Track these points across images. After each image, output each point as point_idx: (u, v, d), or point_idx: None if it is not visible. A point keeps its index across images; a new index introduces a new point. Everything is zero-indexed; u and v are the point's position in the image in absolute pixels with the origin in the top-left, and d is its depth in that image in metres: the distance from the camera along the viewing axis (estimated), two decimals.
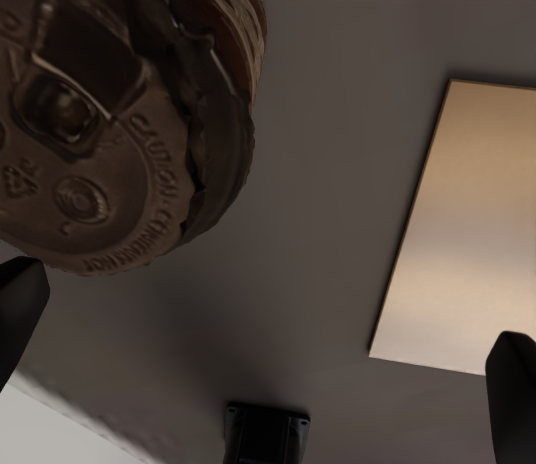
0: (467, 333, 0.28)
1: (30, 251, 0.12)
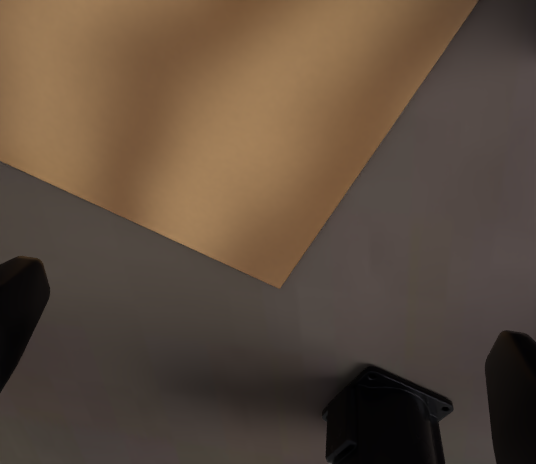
0: (263, 193, 0.23)
1: None
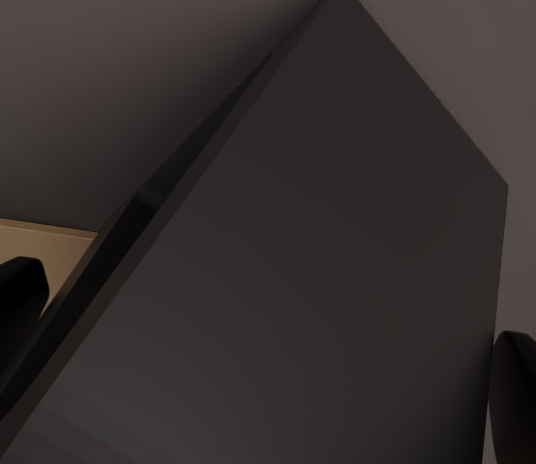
0: None
1: None
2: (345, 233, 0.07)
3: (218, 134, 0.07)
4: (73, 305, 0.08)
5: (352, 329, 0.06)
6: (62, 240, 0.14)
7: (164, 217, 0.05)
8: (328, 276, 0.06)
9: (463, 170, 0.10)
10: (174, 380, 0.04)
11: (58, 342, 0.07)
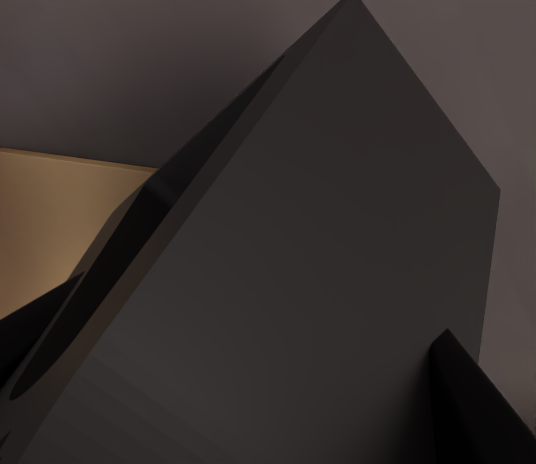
0: None
1: None
2: (351, 224, 0.07)
3: (236, 128, 0.08)
4: (92, 283, 0.08)
5: (355, 311, 0.07)
6: (119, 173, 0.17)
7: (191, 200, 0.06)
8: (335, 262, 0.07)
9: (459, 173, 0.10)
10: (201, 343, 0.05)
11: (80, 316, 0.07)
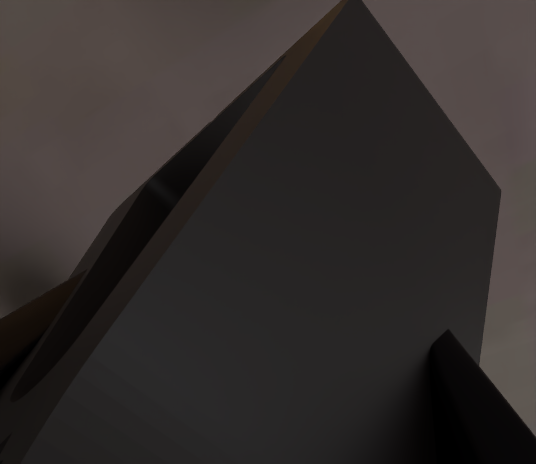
0: None
1: None
2: (352, 225, 0.07)
3: (237, 129, 0.08)
4: (92, 284, 0.08)
5: (357, 312, 0.07)
6: None
7: (192, 201, 0.06)
8: (337, 264, 0.07)
9: (460, 174, 0.10)
10: (202, 345, 0.05)
11: (80, 316, 0.07)
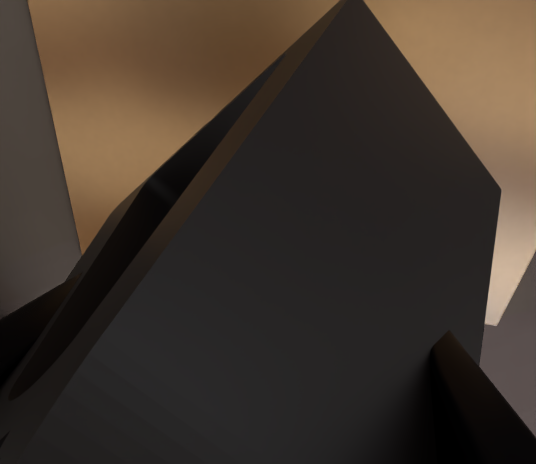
0: None
1: None
2: (353, 224, 0.07)
3: (237, 127, 0.08)
4: (91, 283, 0.08)
5: (357, 311, 0.07)
6: (504, 301, 0.20)
7: (192, 199, 0.06)
8: (337, 262, 0.07)
9: (461, 172, 0.10)
10: (202, 343, 0.05)
11: (79, 315, 0.07)
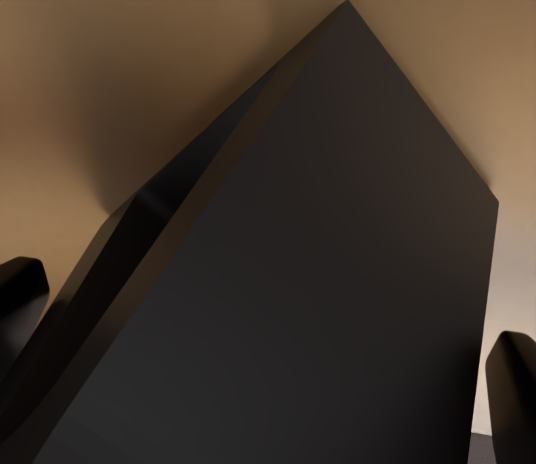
0: None
1: None
2: (346, 250, 0.07)
3: (226, 149, 0.07)
4: (78, 308, 0.08)
5: (350, 342, 0.06)
6: None
7: (177, 233, 0.06)
8: (330, 291, 0.06)
9: (457, 187, 0.10)
10: (186, 392, 0.05)
11: (65, 345, 0.07)
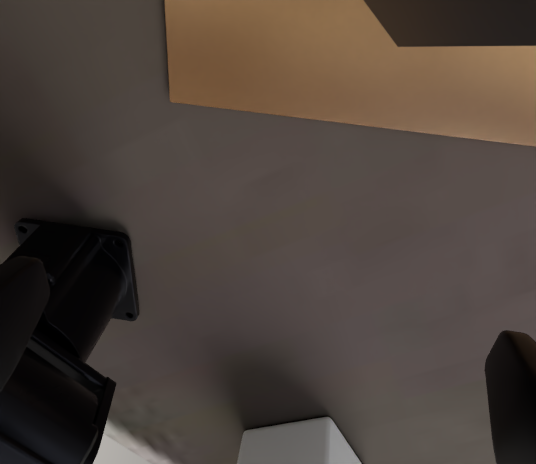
0: (297, 30, 0.18)
1: None
2: None
3: None
4: None
5: None
6: None
7: None
8: None
9: None
10: None
11: None
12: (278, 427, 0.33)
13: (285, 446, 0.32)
